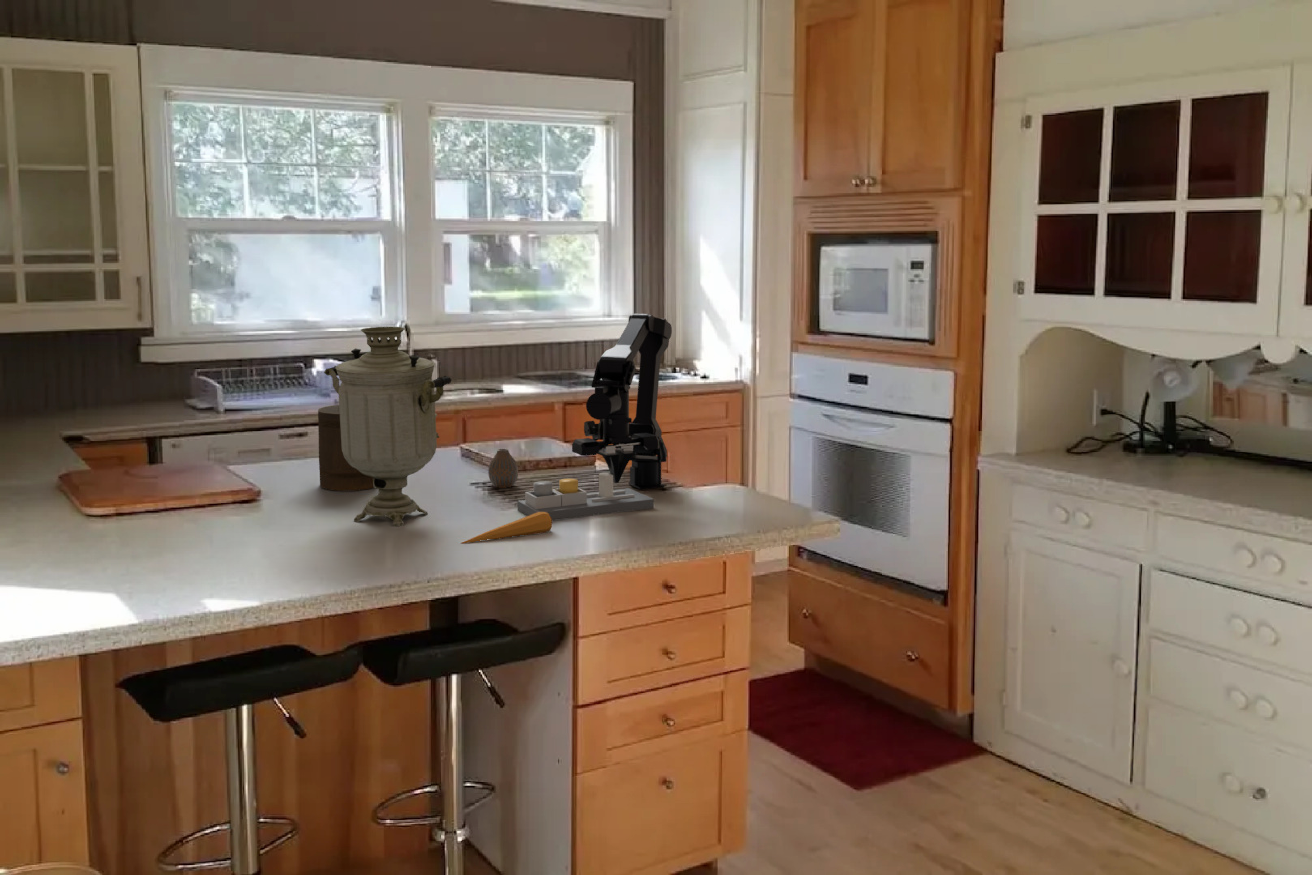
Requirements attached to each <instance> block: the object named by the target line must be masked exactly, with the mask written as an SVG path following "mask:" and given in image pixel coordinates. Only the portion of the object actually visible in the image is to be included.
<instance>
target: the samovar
mask: <svg viewBox="0 0 1312 875" xmlns="http://www.w3.org/2000/svg"><path fill="white" fill-rule="evenodd" d="M405 330H406V328H405V327H404V326H373V327H372V326H371V327H364V328H361V329H360V331H361V332H362V333H363V334H365V337H366V344H367V345H368V347H369V348H370V351H367V352H365V353H364V354H362V355H360V353H361V351H362V349H360V348H354V349H352V350H351V351H350V352H351V354H352V355H353V357H354V359H350V360H347V361H344V362H343V361H342V362H341V363H339V364H337V365H334V366H333V367H329V368H328V367H327V368H326V369H325V370H324V371H323V373H324V374H325V375H326V376H330V377H331V378H332V387H333V389H334V390H335V392H336V393H337V394H338V405H339V411H340V428H341V445H342V452H343V455H344V458H345V459H346V460H347V462H348V463H349V464H350V465H351V466H352V467H354V468H356V469H357V470H359V471H360V472H361V473H362V474H364V475H367V476H371V477H372V478H373V487H375V488H374V489H378V494H376V495H374V496H372V497H371V499H370V500H368V501H367V502H365V507H364V508H363V510H362V512H361V513H359V514H356V516H355V517H354V518H353V521H354V522H361V521H362V520H364V519H365V517H366V516H373V517H376V516H377V517H380V518H381V517H387V518H388V519H390V520H392V521H393V523H392V526H396V527H400V526H404V525H405V523H404V521H402V520H403V518H404V516H405V515H409V514H412V513H415V512H419V513H422V514H424V515H425V516H426V515H428V511H426V510H424V509H423V508H421V507H420V506H419V505H418V504H417V502H416V501H415V500H414V499H411V497H410V496H409V495H408V494H404V493H403V489H404V488H406V487H407V486H408V476H410V475H411V476H412V475H413V474H415V473H417V472H419V471H421V469H423V468H425V466H426V465H427V464H428V463H430V462H431V461H432V459H433V458H434V456H435V454H436V452H437V444H438V443H437V441H438V440H437V439H439V438H440V435H439V433H438V432H437V423H436V422H437V421H436V418H437V417H438V413H436V402H438V401H439V400H440V399H441V398H442V396H443V395H444V387H445V386H446V385H449V384H451V383H452V378H451V377H450V376H448V375H444V376H439V377H437V378H436V379H432V380H431V378H432V376H433V372H434V369H435V362H434V361H432V360H430V359H428V358H424V357H420V356H419V355H416V354H411V355H410V354H408V353H407V352H404V351H402V350H399V347H400V346H401V345H402V335H401V334H402V333H403V331H405ZM340 382H341V383H340Z"/></svg>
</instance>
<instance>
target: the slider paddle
mask: <svg viewBox="0 0 1312 875" xmlns="http://www.w3.org/2000/svg"><path fill="white" fill-rule="evenodd" d="M613 490H614V482H613V475H611V474H610V472H599V473H598V492H599V496H601V497H611V496H613Z"/></svg>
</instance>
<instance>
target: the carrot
mask: <svg viewBox="0 0 1312 875" xmlns="http://www.w3.org/2000/svg"><path fill="white" fill-rule="evenodd" d="M552 528H553V520H552V518H551V517H550V515H549V513H546V512H537V513H534V514H532V515H529V516H528V515H526V516H525V517H522V518H519V519H516V520H514V521H511V522H509V523H506V524H503V525H501V526H498V527H496V528H493V529H490V530H488V531H485V532H483V533H480V534H478V535H475V536H473V537H471V538H470V539H467V540H465V541H462V542H461V544H468V543H467V542H471V543H476V542H475V541H480V540H487V539H495V540H500V539H499V538H502V539H506V538H505V537H510V538H513V537H512V536H517V537H521V536H520V535H524V536H530V535H531V536H532V535H537V534H538V533H539V534H544V533H547V532H549V531H551V530H552ZM480 542H481V541H480Z"/></svg>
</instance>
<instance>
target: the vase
mask: <svg viewBox="0 0 1312 875" xmlns="http://www.w3.org/2000/svg"><path fill="white" fill-rule="evenodd" d="M488 465H489V466H488V472H487V473H488V479H489V481H490V483H491V484H492V485H493V486H494V487H495V488H497V487H499V488H498V489H507V488H506V487H509V488H511V486H512V487H513V486H514V485H516V482H517V479H518V476H519V468H518V467H519V466H518V464H517V461H516V460H515V458H514V457H513V456H512V454H511V453H510V450H509V449H507V448H500V449H497V451H496V452H495V455H494V456H493V457H492V459H490V462H489V464H488Z"/></svg>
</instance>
